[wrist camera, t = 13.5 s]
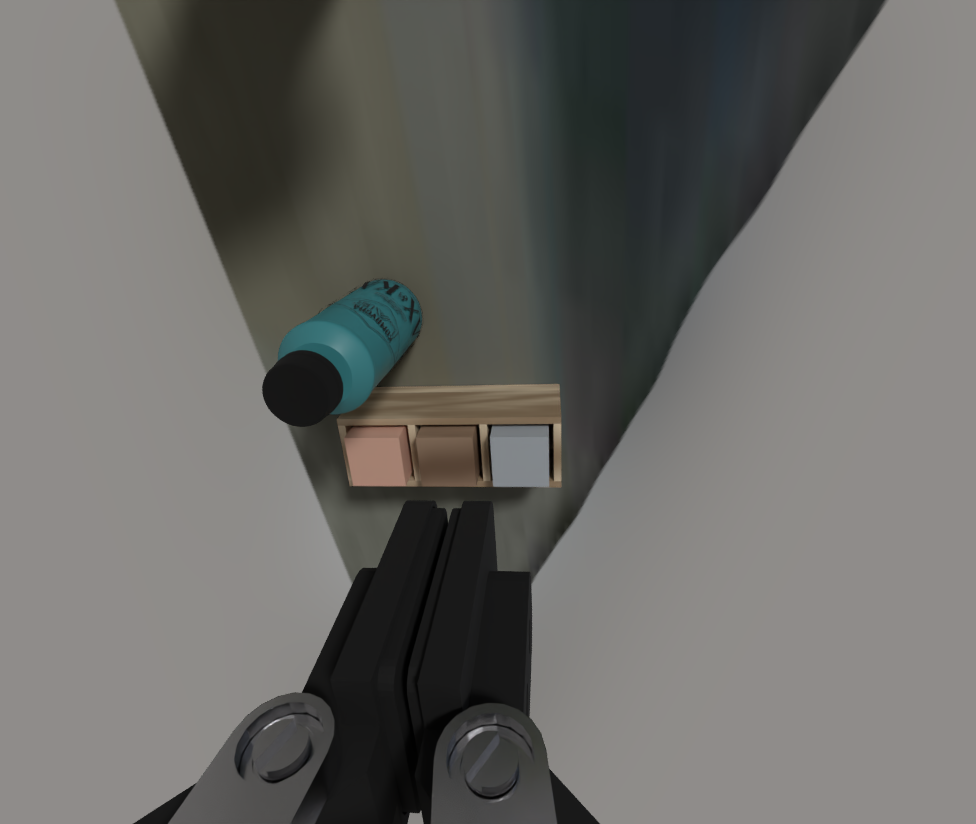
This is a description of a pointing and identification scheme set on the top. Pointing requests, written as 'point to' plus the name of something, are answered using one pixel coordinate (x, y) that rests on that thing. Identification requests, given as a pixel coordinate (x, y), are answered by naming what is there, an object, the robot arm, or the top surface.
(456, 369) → the top surface
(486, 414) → the wooden compartment box
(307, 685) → the robot arm
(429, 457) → the brown cube
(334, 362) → the beverage bottle
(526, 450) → the grey cube
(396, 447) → the salmon pink cube
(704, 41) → the top surface
